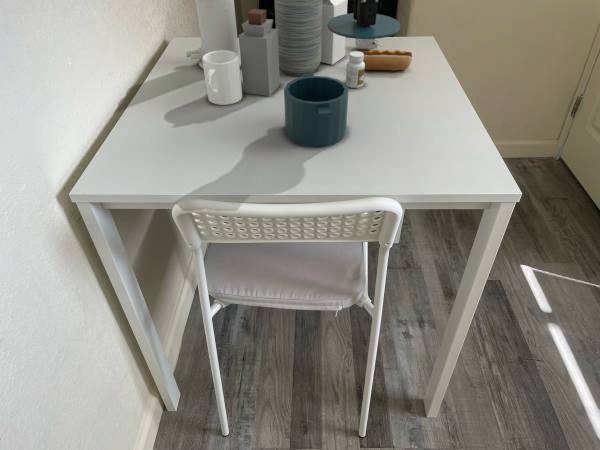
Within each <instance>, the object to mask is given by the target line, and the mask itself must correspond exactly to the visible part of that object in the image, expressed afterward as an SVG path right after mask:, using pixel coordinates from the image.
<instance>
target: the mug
mask: <svg viewBox="0 0 600 450" xmlns="http://www.w3.org/2000/svg"><path fill="white" fill-rule="evenodd" d="M202 61H203V68H204V69H203V72H204V73H203V74H204V80H205V86H206V93H207V99H208V101H209V102H210V103H211V104H214V105H219V106H226V105H227V106H229V105H233V104H235V103H238V102H239V101H241V100H242V98H243V86H242V78H241V69H240V68H241V67H240V66H239V56H238V55H237V54H236V53H235V52H232V51H227V50H218V51H213V52H209V53H207V54H205V55H204V56H203V58H202Z"/></svg>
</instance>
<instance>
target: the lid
mask: <svg viewBox="0 0 600 450" xmlns="http://www.w3.org/2000/svg"><path fill="white" fill-rule="evenodd" d="M360 2H362V0H358V8H357V20H355V19H354V18H353V13H354V12H351V13H347V14H343V15H339V16H336V17H334V18H332V19H330V20H329V21H328V29H329V30H330V31H331V32H333V33H335V34H337V35H340V36H343V37H346V38H348V39H355V40H356V39H379V40H380V39H384V38H388V37H392V36H394V35H396V34H398V33H399V32H400V30H401V22H400V21H398V20H397V19H395V18H393V17H391V16H388V15H384V14H379V13H377V14H376V24H375V25H370V26H359V25H358V17H359V3H360Z"/></svg>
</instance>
